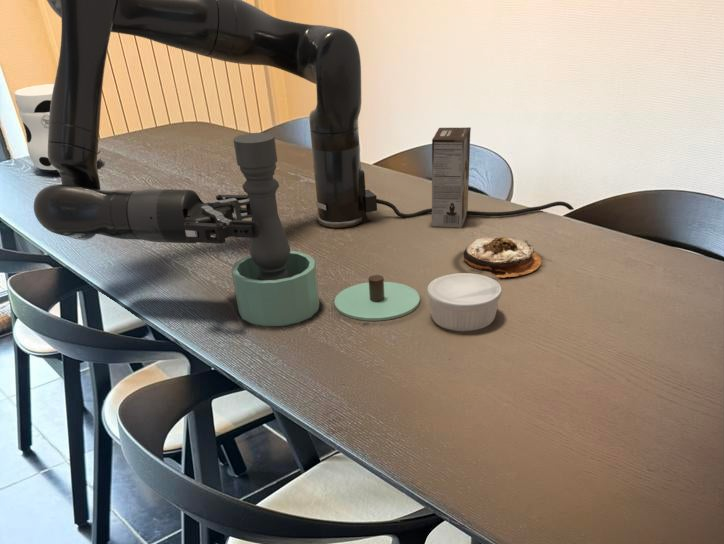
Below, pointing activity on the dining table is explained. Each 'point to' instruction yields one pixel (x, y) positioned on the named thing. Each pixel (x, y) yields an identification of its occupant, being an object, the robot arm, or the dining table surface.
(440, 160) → the coffee box
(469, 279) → the ramekin
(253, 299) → the pot
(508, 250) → the cream topped cake
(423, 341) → the dining table surface
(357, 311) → the pot lid
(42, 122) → the doce de leite jar
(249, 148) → the candle holder
